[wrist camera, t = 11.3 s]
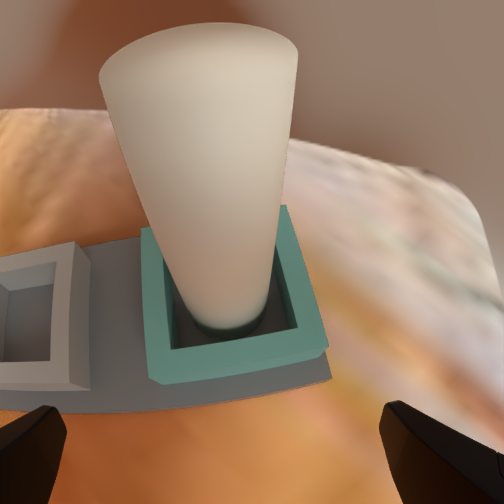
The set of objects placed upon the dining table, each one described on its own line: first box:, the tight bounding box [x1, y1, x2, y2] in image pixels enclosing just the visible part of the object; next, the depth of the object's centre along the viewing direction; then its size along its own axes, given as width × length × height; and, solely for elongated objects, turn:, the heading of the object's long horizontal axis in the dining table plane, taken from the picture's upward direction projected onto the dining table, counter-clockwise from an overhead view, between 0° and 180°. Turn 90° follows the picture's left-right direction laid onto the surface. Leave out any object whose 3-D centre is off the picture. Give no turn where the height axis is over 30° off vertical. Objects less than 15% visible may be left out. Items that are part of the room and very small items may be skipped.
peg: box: [99, 23, 298, 340], centre depth 12 cm, size 4×4×14 cm
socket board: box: [0, 205, 332, 414], centre depth 17 cm, size 22×11×4 cm, turn 101°
